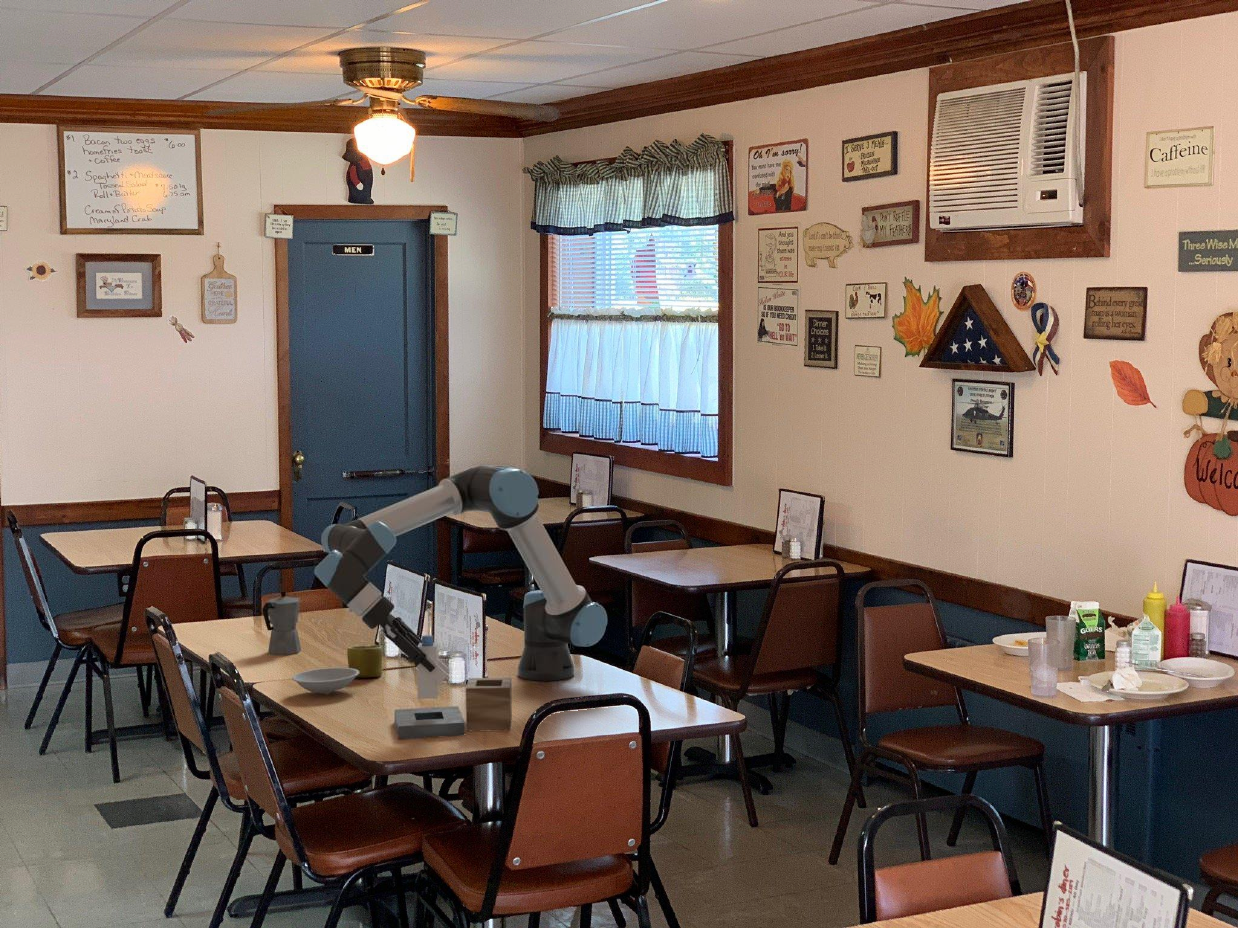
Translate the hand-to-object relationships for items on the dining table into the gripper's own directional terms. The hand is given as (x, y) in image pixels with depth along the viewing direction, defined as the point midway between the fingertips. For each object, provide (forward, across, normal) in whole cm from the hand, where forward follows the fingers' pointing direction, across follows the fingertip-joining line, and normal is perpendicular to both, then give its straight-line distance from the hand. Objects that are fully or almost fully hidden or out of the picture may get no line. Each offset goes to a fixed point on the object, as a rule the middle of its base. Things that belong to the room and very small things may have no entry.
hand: (444, 676), depth 328 cm
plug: (+1, 0, -6) cm, 6 cm away
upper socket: (+16, -2, -2) cm, 16 cm away
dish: (-15, -34, -32) cm, 49 cm away
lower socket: (+6, 0, -11) cm, 13 cm away
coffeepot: (-29, -84, -47) cm, 100 cm away
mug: (-9, -55, -27) cm, 62 cm away
